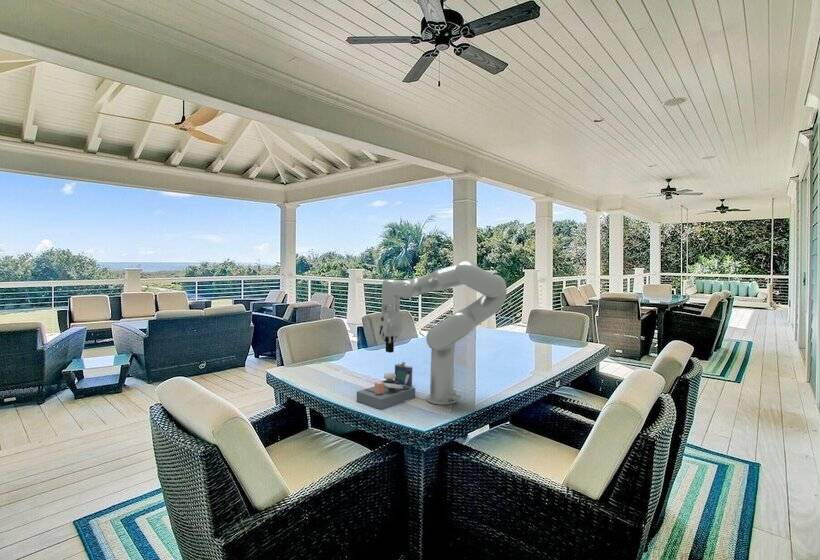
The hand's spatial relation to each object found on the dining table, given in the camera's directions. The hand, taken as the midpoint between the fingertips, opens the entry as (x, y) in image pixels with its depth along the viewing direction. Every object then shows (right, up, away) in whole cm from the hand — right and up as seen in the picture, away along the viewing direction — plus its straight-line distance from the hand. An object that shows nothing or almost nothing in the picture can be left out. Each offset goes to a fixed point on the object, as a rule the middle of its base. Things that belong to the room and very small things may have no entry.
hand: (389, 351), depth 178 cm
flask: (+5, -18, +15) cm, 24 cm away
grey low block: (-1, -19, -6) cm, 19 cm away
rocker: (+2, -12, -8) cm, 15 cm away
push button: (0, -13, 0) cm, 13 cm away
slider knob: (-3, -15, -12) cm, 19 cm away
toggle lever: (+6, -14, -4) cm, 16 cm away
